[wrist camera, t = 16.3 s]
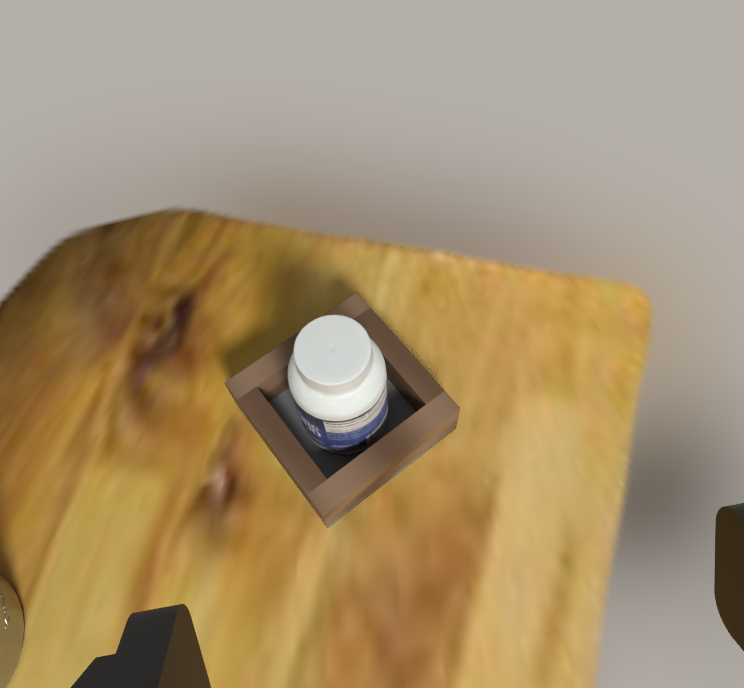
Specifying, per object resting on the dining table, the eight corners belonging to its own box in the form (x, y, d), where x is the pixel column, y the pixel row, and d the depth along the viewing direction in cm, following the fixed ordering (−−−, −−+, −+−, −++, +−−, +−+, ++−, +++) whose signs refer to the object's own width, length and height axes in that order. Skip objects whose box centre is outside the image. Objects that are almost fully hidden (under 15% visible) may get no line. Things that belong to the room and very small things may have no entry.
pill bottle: (294, 388, 45) (268, 316, 36) (374, 367, 45) (368, 290, 36) (314, 467, 42) (291, 411, 34) (398, 443, 43) (398, 381, 34)
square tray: (327, 527, 41) (321, 514, 38) (237, 404, 45) (224, 382, 42) (455, 428, 44) (460, 408, 40) (359, 319, 47) (356, 292, 44)
